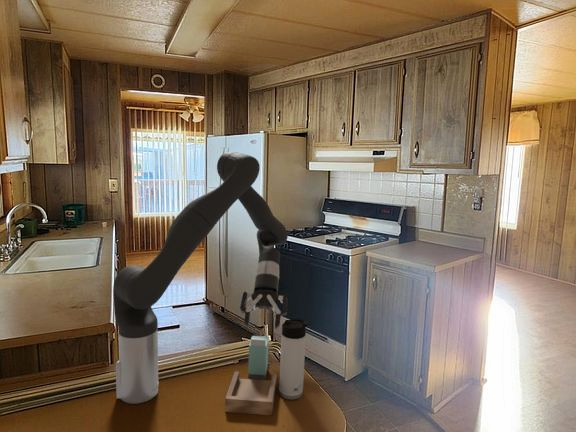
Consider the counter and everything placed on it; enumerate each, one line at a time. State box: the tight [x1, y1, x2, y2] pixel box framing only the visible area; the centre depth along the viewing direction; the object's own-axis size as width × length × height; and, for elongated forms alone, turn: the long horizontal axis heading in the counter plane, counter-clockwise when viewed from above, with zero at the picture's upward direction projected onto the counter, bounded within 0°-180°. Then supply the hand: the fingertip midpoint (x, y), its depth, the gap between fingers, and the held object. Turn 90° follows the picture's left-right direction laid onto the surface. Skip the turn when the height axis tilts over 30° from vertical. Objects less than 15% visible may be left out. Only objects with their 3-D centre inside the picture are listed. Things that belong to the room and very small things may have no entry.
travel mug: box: [278, 318, 309, 400], centre depth 104 cm, size 6×7×20 cm
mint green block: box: [247, 335, 270, 380], centre depth 113 cm, size 5×6×12 cm
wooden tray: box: [224, 370, 278, 416], centre depth 102 cm, size 11×12×4 cm
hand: (261, 326), depth 119 cm, fingers open, 8 cm apart
